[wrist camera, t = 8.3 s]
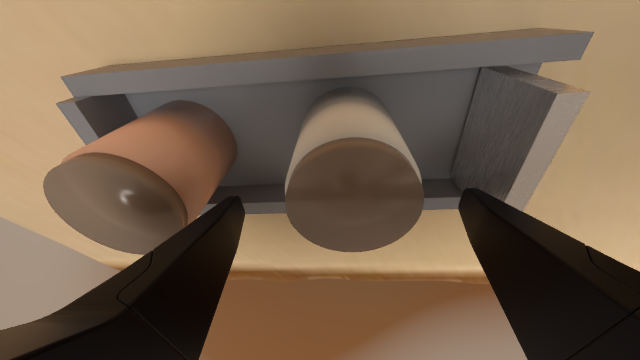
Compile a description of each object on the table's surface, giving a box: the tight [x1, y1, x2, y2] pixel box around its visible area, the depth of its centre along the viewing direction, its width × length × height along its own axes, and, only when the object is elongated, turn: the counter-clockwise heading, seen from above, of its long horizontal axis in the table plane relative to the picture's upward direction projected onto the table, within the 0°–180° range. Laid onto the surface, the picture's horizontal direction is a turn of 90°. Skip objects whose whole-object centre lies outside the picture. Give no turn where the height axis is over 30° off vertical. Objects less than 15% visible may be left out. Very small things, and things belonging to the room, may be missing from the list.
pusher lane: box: [56, 28, 594, 215], centre depth 14 cm, size 24×10×4 cm, turn 95°
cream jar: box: [285, 87, 424, 252], centre depth 12 cm, size 6×6×7 cm
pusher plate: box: [450, 65, 590, 212], centre depth 12 cm, size 1×7×5 cm, turn 5°
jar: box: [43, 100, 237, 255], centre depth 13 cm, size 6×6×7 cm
